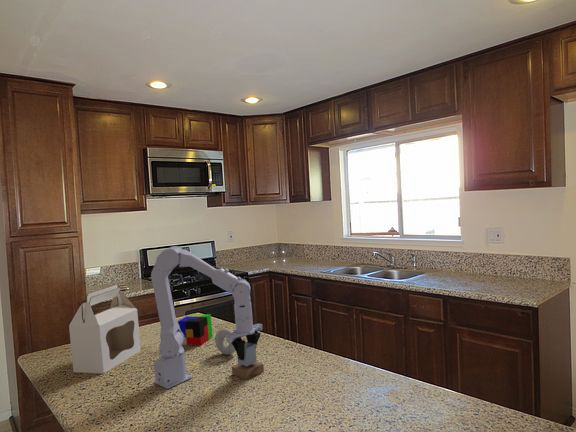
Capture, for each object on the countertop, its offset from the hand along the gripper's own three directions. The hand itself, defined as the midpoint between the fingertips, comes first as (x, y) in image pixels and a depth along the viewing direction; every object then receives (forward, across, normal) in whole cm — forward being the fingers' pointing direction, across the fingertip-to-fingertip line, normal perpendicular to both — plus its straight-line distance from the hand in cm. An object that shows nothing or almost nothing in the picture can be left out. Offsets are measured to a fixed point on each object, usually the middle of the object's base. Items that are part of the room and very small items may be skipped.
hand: (246, 356), depth 134 cm
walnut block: (+6, 0, 0) cm, 6 cm away
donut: (+6, +7, +19) cm, 21 cm away
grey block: (+2, 0, 0) cm, 2 cm away
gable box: (+6, -22, +55) cm, 60 cm away
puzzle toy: (+6, +10, +43) cm, 45 cm away
